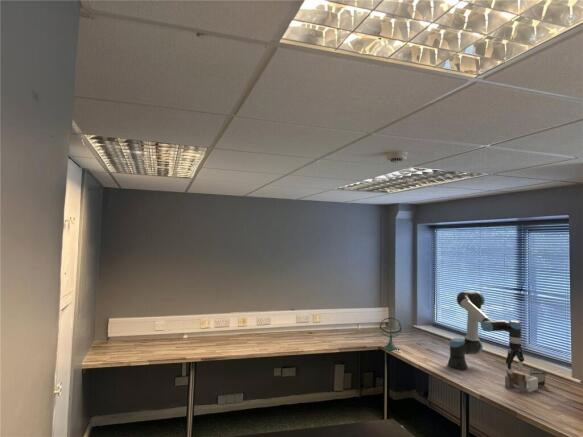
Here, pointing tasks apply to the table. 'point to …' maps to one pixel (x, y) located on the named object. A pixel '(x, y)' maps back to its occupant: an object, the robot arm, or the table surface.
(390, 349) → the armillary sphere
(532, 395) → the table surface
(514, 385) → the carcass
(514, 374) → the door
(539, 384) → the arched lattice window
